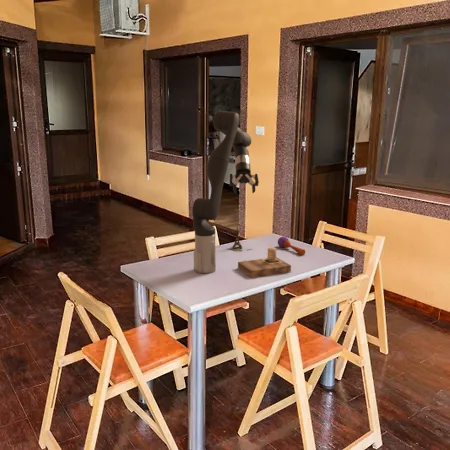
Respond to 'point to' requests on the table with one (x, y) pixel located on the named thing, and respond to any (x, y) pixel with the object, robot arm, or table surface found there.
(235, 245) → the eiffel tower figurine
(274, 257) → the pin
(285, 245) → the maraca
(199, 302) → the table surface
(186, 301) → the table surface
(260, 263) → the pin board
